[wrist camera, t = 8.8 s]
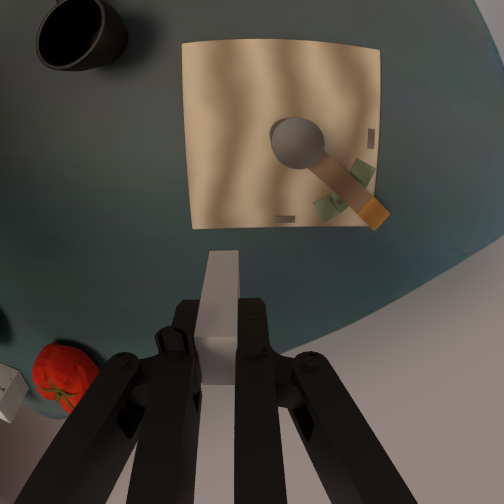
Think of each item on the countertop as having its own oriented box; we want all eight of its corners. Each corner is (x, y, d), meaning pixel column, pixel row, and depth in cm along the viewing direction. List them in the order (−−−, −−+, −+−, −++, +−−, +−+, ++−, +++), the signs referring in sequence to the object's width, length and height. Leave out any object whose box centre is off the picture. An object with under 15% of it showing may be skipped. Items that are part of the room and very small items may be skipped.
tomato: (120, 370, 50) (105, 414, 41) (86, 387, 54) (71, 425, 44) (66, 322, 45) (40, 363, 36) (38, 346, 48) (16, 382, 39)
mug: (123, -19, 23) (90, -45, 14) (146, 55, 28) (114, 42, 20) (67, 13, 24) (25, -2, 15) (88, 86, 29) (44, 85, 20)
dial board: (194, 225, 38) (192, 229, 36) (184, 45, 28) (181, 43, 26) (366, 222, 38) (370, 226, 37) (375, 51, 28) (380, 50, 27)
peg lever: (257, 137, 32) (261, 146, 24) (283, 106, 30) (295, 107, 23) (354, 219, 36) (379, 250, 29) (377, 193, 35) (409, 219, 27)
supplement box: (19, 369, 53) (-2, 407, 41) (29, 388, 56) (11, 424, 45) (-1, 361, 52) (-23, 396, 41) (10, 380, 56) (-9, 414, 44)
